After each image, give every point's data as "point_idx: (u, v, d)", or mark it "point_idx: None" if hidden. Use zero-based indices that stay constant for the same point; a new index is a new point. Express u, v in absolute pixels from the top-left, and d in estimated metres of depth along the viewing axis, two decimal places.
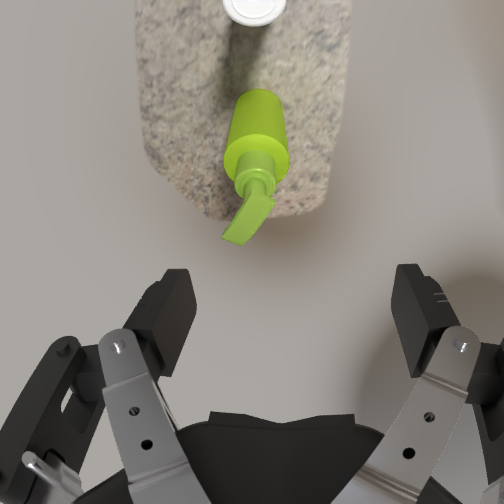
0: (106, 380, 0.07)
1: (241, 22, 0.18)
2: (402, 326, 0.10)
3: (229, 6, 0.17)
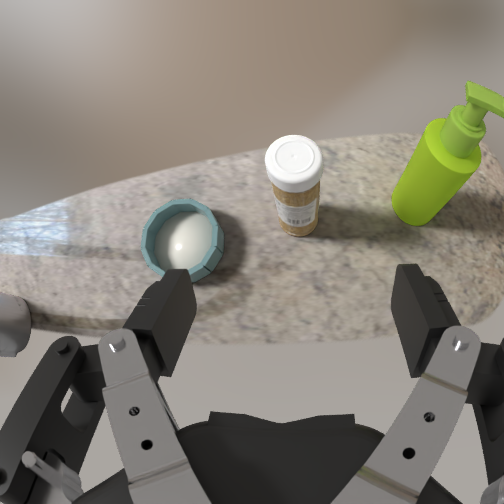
0: (106, 380, 0.07)
1: (320, 163, 0.23)
2: (402, 326, 0.10)
3: (304, 174, 0.23)
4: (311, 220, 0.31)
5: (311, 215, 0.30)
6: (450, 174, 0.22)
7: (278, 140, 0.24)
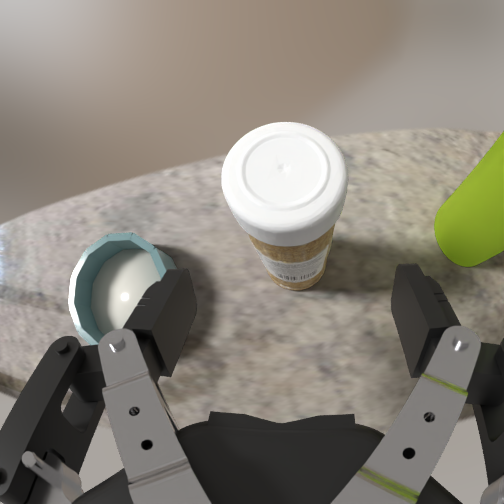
0: (106, 380, 0.07)
1: (342, 183, 0.10)
2: (402, 326, 0.10)
3: (308, 210, 0.10)
4: (317, 272, 0.19)
5: (317, 268, 0.17)
6: None
7: (250, 134, 0.11)
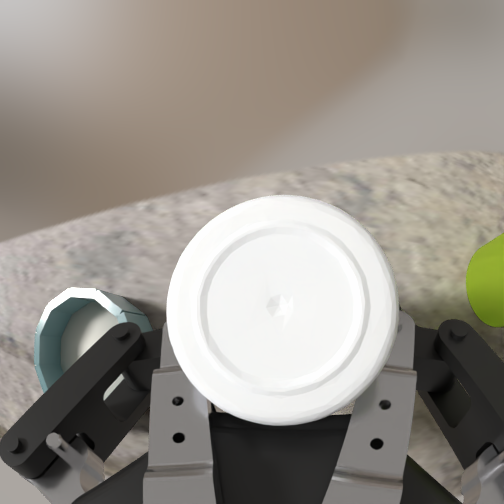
0: (162, 361, 0.07)
1: (389, 338, 0.05)
2: None
3: (320, 396, 0.05)
4: None
5: None
6: None
7: (219, 222, 0.06)
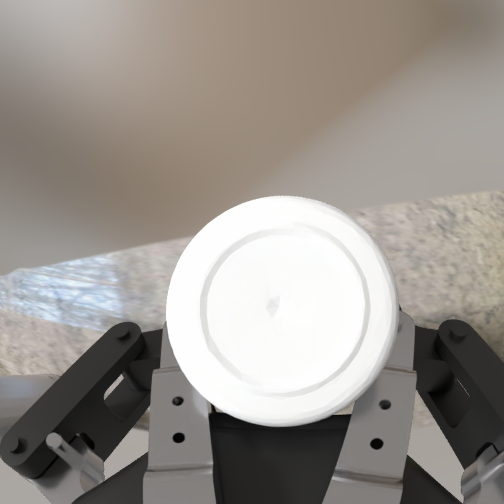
0: (161, 361, 0.07)
1: (389, 340, 0.05)
2: None
3: (320, 398, 0.05)
4: None
5: None
6: None
7: (219, 223, 0.06)
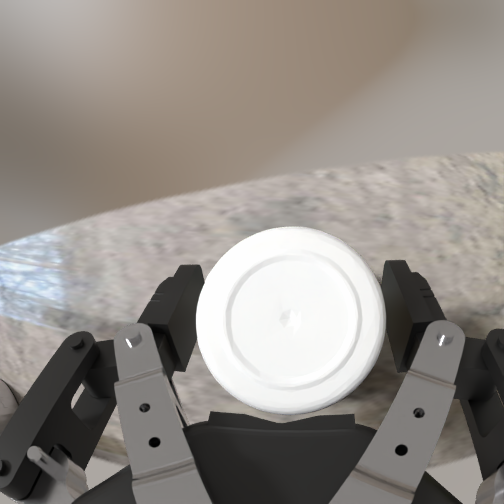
0: (119, 374, 0.07)
1: (377, 344, 0.06)
2: (389, 321, 0.10)
3: (323, 390, 0.06)
4: None
5: None
6: None
7: (239, 250, 0.07)
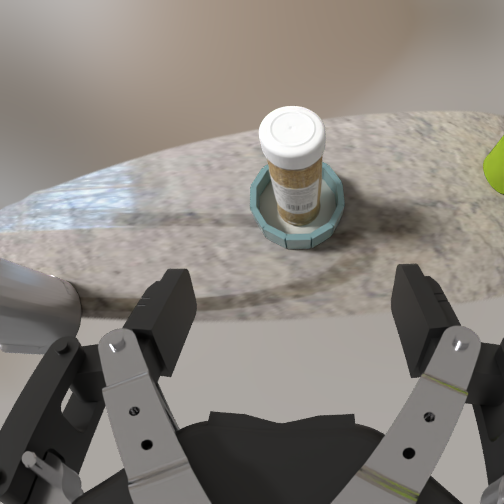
0: (106, 380, 0.07)
1: (322, 134, 0.19)
2: (402, 326, 0.10)
3: (304, 147, 0.19)
4: (313, 206, 0.28)
5: (313, 200, 0.27)
6: None
7: (273, 111, 0.20)
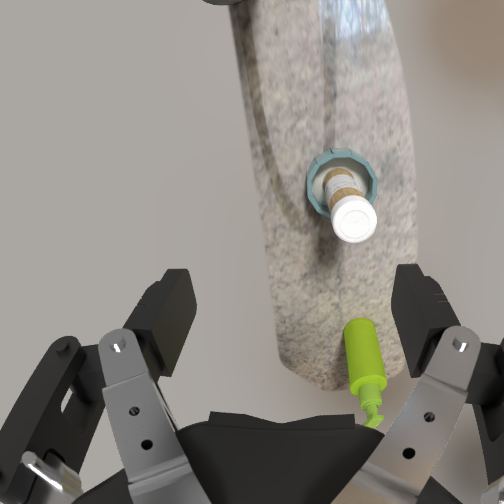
0: (106, 380, 0.07)
1: (348, 241, 0.30)
2: (402, 326, 0.10)
3: (339, 231, 0.30)
4: None
5: None
6: (351, 380, 0.43)
7: (371, 212, 0.28)
